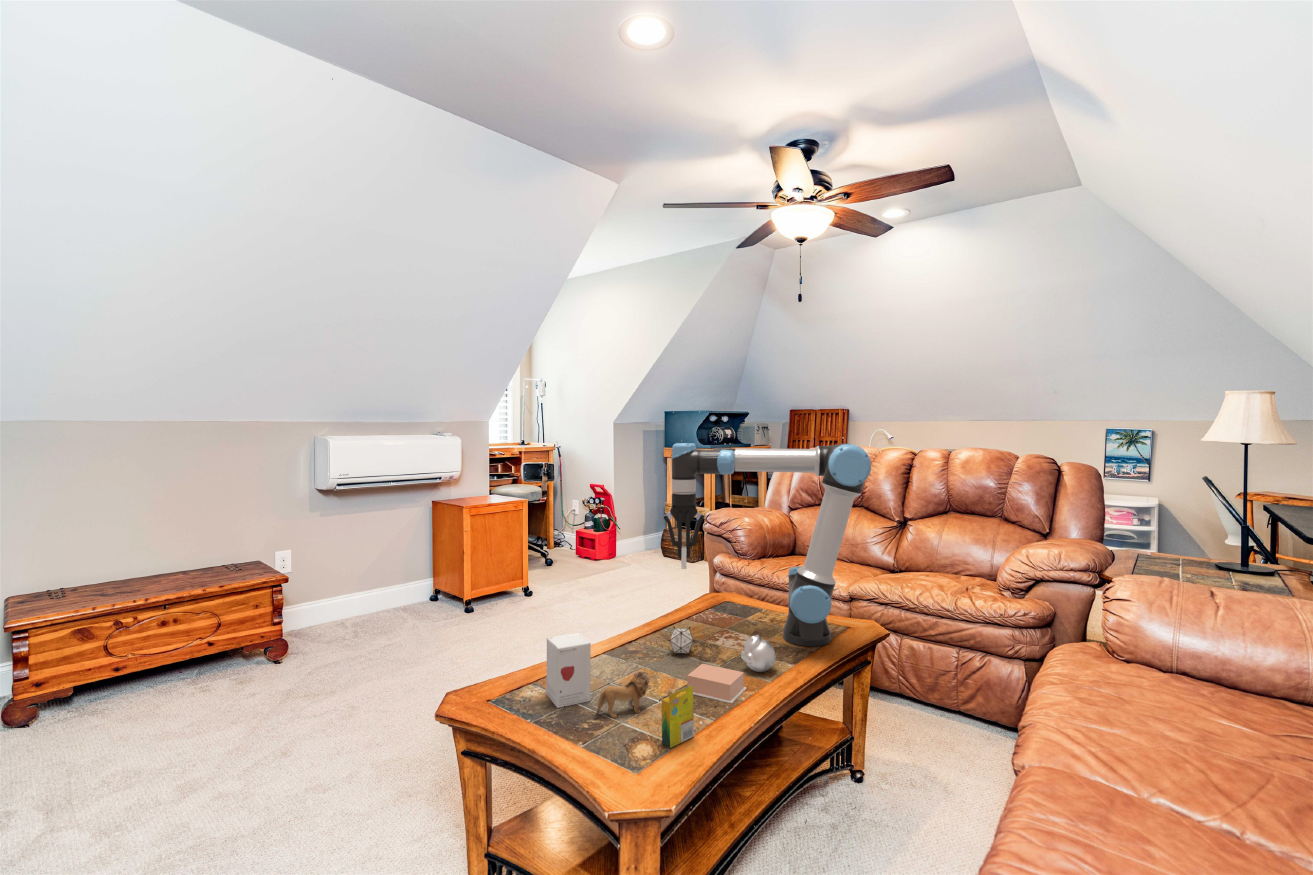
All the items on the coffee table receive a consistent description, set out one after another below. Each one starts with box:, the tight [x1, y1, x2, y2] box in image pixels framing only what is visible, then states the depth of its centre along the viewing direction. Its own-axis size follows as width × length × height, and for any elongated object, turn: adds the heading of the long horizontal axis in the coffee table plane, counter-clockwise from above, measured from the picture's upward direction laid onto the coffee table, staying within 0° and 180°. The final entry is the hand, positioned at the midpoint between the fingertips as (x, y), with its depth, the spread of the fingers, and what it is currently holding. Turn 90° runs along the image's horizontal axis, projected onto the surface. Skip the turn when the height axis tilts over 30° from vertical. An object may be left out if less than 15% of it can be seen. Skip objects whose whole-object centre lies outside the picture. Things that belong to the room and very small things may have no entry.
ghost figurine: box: [740, 634, 776, 673], centre depth 174 cm, size 9×10×10 cm
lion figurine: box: [593, 669, 650, 719], centre depth 149 cm, size 15×5×9 cm, turn 121°
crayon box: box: [660, 685, 695, 749], centre depth 136 cm, size 7×3×12 cm, turn 131°
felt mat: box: [693, 686, 747, 704], centre depth 161 cm, size 12×10×1 cm
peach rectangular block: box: [686, 663, 745, 701], centre depth 161 cm, size 4×9×12 cm
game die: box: [667, 625, 697, 656], centre depth 187 cm, size 9×8×10 cm
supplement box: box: [545, 632, 592, 709], centre depth 157 cm, size 9×9×15 cm
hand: (683, 567), depth 194 cm, fingers closed
